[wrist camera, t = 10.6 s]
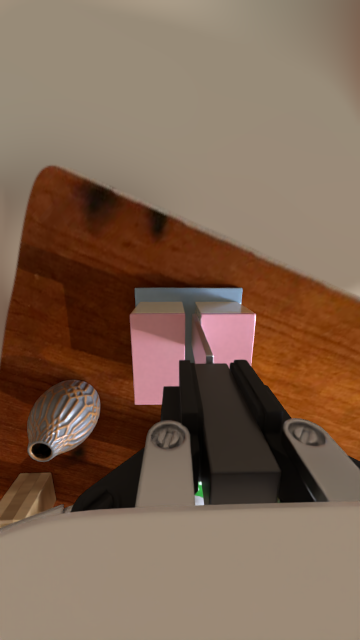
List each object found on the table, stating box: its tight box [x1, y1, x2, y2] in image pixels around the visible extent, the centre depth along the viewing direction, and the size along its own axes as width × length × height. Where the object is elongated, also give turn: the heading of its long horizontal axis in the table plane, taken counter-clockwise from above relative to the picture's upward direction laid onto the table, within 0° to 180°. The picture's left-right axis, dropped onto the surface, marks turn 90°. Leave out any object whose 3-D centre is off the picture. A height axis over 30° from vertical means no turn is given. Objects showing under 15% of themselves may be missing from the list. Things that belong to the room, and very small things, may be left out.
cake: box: [130, 287, 256, 405], centre depth 24 cm, size 12×12×7 cm
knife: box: [191, 314, 281, 505], centre depth 13 cm, size 3×2×15 cm, turn 0°
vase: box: [27, 380, 100, 462], centre depth 24 cm, size 7×7×9 cm
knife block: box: [0, 473, 56, 528], centre depth 29 cm, size 5×4×6 cm
